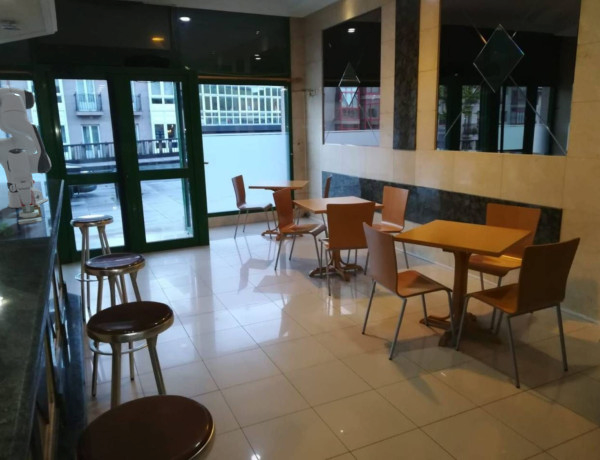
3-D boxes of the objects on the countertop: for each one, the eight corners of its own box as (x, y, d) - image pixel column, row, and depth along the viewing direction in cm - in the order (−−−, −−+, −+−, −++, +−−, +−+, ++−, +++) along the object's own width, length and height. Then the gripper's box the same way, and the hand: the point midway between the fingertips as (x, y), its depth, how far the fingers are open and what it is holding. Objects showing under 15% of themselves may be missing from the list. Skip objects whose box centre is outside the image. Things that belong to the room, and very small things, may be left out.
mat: (18, 220, 236) (18, 220, 236) (41, 217, 241) (40, 216, 241) (18, 224, 227) (18, 223, 227) (42, 221, 232) (42, 220, 232)
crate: (23, 216, 246) (21, 206, 245) (40, 213, 250) (39, 204, 249) (24, 218, 240) (22, 209, 238) (41, 216, 243) (40, 206, 242)
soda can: (30, 212, 253) (26, 190, 250) (19, 212, 255) (15, 191, 252) (40, 210, 260) (36, 188, 257) (29, 210, 262) (24, 188, 258)
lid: (19, 216, 235) (17, 206, 234) (38, 213, 239) (36, 203, 238) (20, 219, 228) (17, 208, 227) (39, 216, 232) (37, 206, 231)
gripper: (15, 181, 236) (20, 208, 240) (15, 186, 219) (21, 215, 223) (29, 179, 239) (34, 206, 243) (31, 184, 222) (36, 213, 226)
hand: (28, 210), depth 233 cm, fingers closed on lid, 2 cm apart
